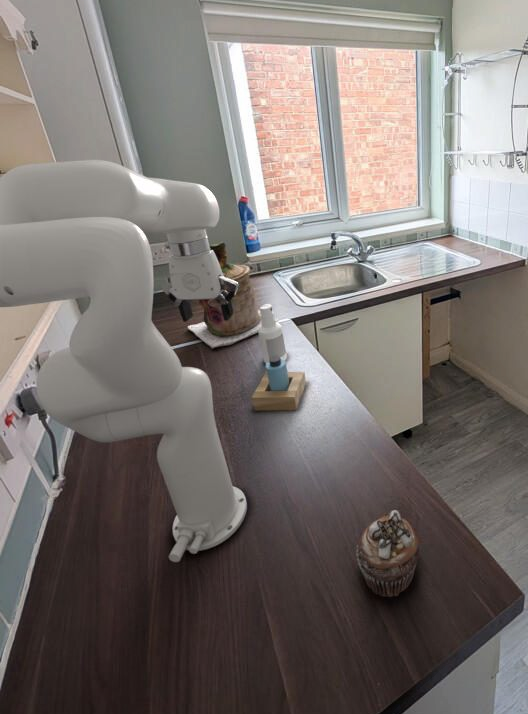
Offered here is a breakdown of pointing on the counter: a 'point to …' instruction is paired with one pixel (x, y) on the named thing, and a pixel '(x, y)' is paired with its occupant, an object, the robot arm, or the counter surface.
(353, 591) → the counter surface
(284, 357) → the spray bottle
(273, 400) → the square wooden frame
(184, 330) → the counter surface
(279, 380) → the bottle
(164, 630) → the counter surface
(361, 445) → the counter surface
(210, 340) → the cookie jar
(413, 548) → the cupcake
